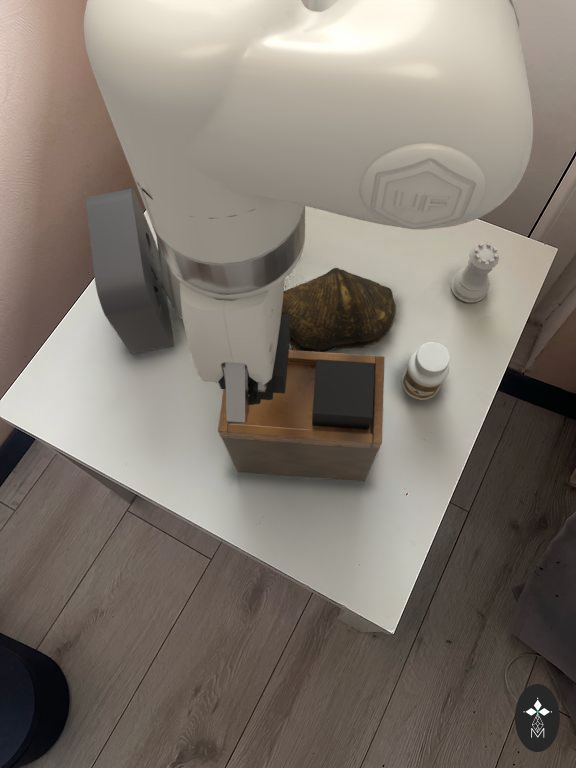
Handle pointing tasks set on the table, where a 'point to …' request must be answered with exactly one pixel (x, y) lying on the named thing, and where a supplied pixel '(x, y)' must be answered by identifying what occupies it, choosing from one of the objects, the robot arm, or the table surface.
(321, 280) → the seashell
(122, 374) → the table surface
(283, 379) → the black cube
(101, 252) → the streaming box
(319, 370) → the black square block
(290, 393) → the box
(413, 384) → the pill bottle
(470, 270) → the rook chess piece
